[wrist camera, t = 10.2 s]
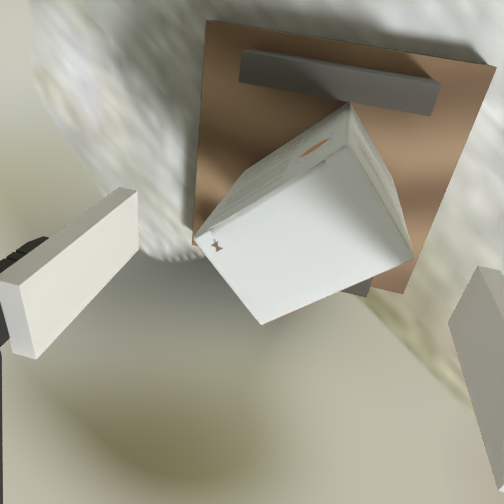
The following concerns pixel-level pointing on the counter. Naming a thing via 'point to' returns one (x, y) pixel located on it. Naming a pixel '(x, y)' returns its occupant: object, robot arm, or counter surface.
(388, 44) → the counter surface
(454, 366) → the counter surface
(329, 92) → the mounting plate
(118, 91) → the counter surface
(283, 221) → the small box
